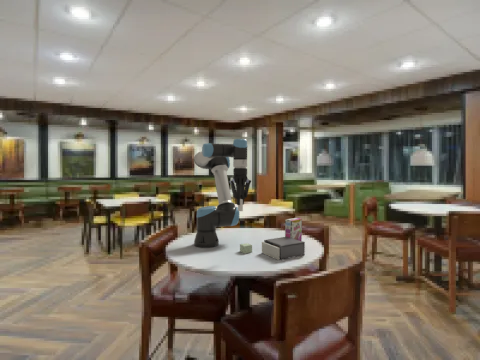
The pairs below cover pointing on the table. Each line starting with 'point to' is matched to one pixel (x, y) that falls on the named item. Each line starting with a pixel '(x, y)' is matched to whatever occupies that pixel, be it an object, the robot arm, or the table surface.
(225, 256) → the table surface
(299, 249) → the housing
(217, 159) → the robot arm
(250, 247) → the pale green block
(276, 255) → the cream pull-out drawer
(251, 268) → the table surface
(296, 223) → the candy bar box
